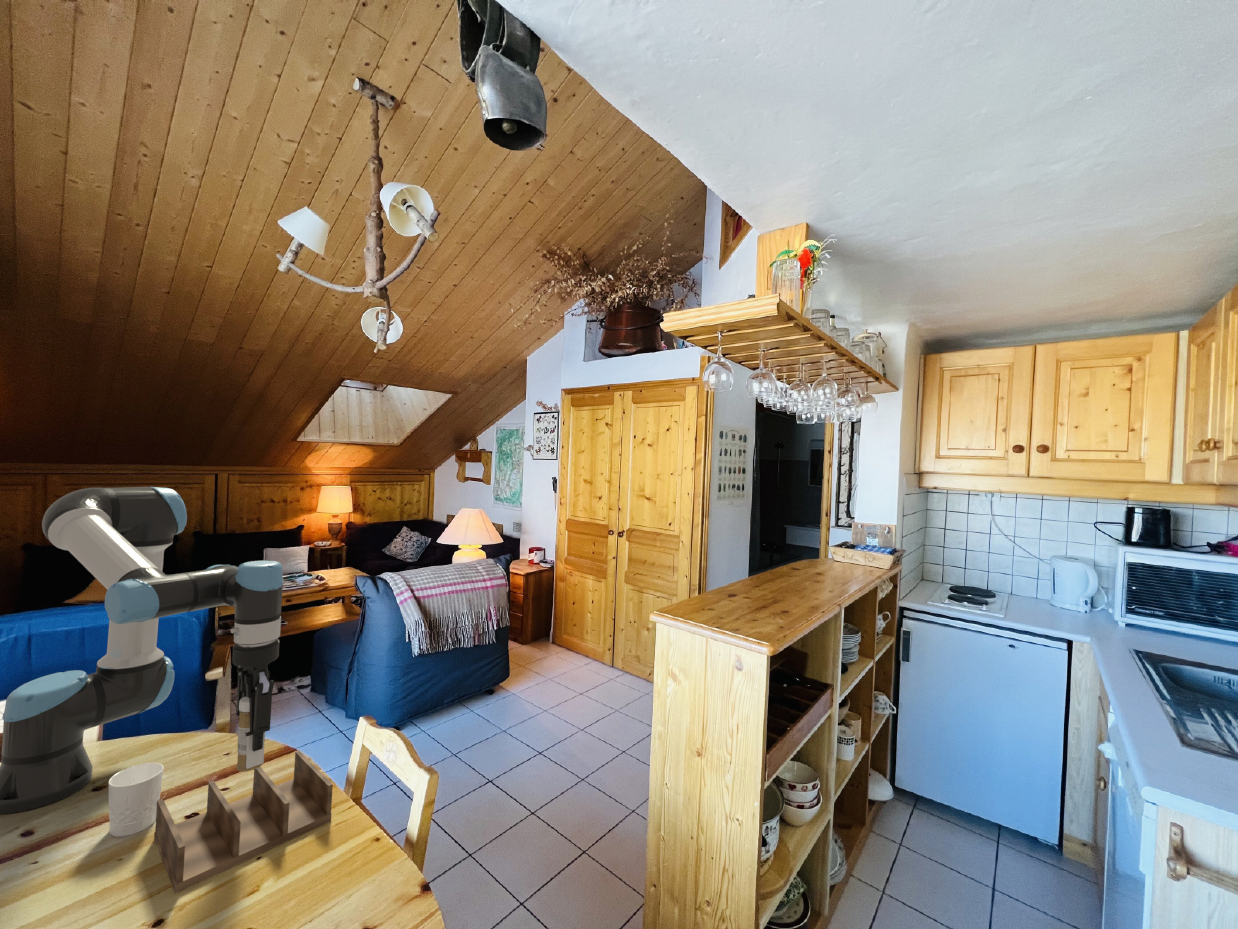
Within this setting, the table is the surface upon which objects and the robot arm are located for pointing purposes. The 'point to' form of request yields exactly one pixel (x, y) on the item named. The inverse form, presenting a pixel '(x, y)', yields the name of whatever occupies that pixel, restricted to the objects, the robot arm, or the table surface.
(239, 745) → the sprinkles bottle
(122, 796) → the white cup
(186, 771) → the table surface
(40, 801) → the robot arm
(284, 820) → the slot rack
